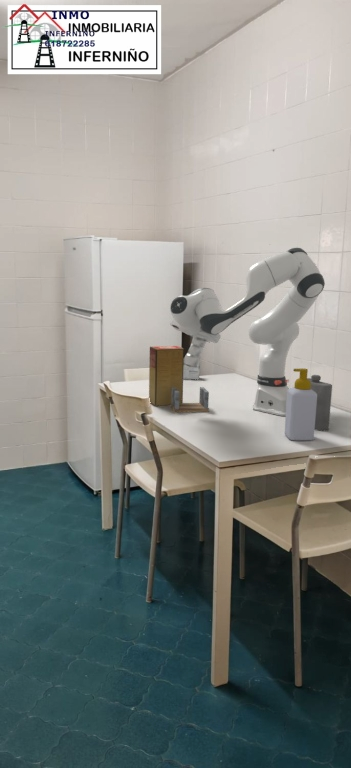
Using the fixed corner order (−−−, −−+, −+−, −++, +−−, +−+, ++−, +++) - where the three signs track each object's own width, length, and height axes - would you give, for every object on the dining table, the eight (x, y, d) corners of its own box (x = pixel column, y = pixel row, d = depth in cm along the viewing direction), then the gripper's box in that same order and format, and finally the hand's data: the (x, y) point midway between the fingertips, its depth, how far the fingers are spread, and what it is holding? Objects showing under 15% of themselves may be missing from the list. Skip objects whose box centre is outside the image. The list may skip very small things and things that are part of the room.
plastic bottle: (178, 363, 234) (195, 317, 235) (189, 367, 239) (206, 323, 239) (188, 366, 230) (206, 319, 230) (200, 370, 234) (216, 325, 235)
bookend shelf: (208, 411, 240) (209, 392, 238) (174, 412, 237) (175, 392, 235) (203, 406, 249) (203, 387, 248) (170, 406, 247) (170, 387, 245)
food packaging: (175, 399, 259) (177, 345, 254) (183, 404, 251) (185, 348, 246) (147, 401, 254) (148, 346, 249) (155, 406, 246) (156, 349, 241)
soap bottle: (283, 434, 210) (288, 366, 205) (307, 434, 211) (312, 367, 206) (289, 441, 201) (294, 371, 196) (314, 441, 202) (320, 371, 197)
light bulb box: (199, 377, 314) (200, 358, 311) (198, 380, 307) (199, 360, 305) (180, 376, 315) (180, 357, 312) (178, 379, 308) (179, 359, 306)
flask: (294, 421, 228) (298, 372, 224) (306, 420, 230) (310, 371, 226) (319, 431, 215) (323, 379, 211) (331, 430, 217) (335, 378, 213)
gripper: (217, 323, 219) (226, 338, 232) (173, 309, 228) (183, 324, 240) (210, 338, 218) (220, 352, 230) (166, 323, 227) (177, 337, 239)
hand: (201, 337), depth 235 cm, fingers closed on plastic bottle, 6 cm apart
